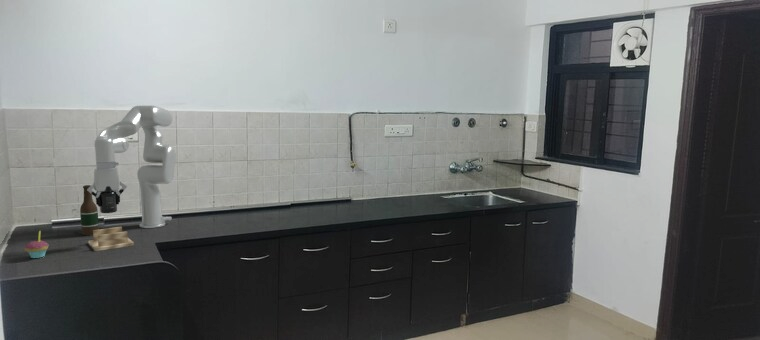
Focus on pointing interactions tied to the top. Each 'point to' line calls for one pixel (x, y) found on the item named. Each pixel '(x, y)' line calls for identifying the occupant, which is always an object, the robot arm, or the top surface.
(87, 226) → the beer bottle
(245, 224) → the top surface
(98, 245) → the holder
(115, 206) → the supplement bottle
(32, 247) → the cupcake
